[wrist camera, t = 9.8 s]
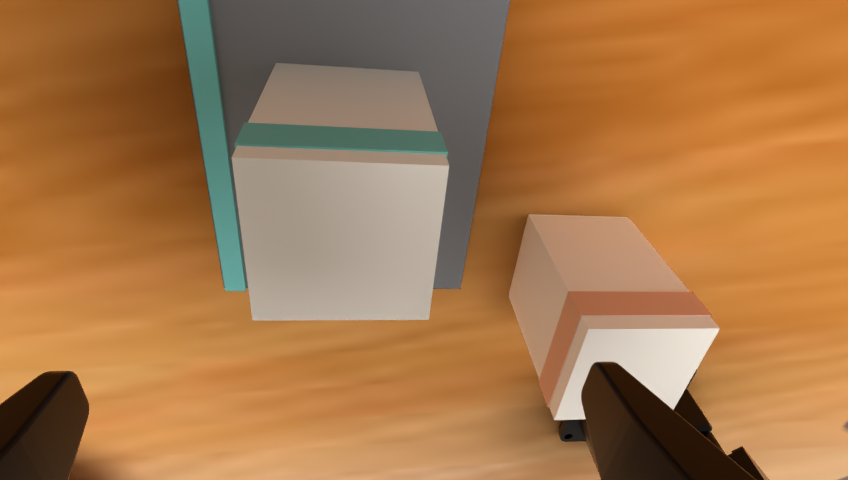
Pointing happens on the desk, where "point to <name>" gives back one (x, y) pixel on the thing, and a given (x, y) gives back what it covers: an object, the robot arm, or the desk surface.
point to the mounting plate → (345, 47)
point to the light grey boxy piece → (604, 309)
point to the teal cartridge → (340, 195)
